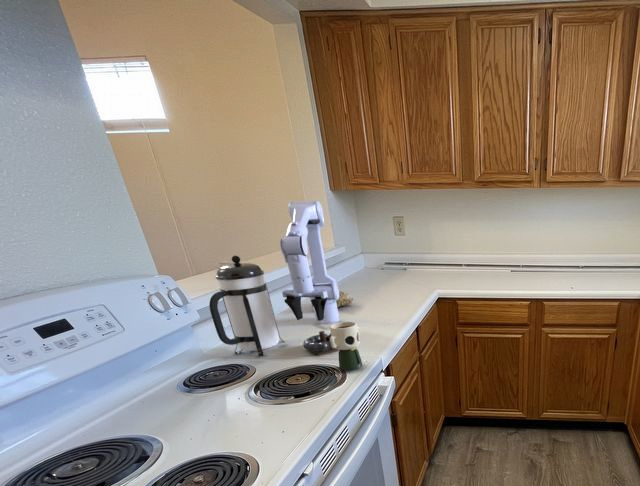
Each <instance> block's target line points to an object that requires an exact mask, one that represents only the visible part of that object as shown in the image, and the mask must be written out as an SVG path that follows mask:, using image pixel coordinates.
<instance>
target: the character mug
mask: <svg viewBox="0 0 640 486" xmlns="http://www.w3.org/2000/svg"><path fill="white" fill-rule="evenodd" d="M329 331H330V333H331V337H330V342H331V346H332V348H335V349H338V350H337V351H338V352H337V353H338V367H339V369H340V370H343V371H346V372H347V371H348V372H349V371H355V370H358V369H359V366H360V368H362V367H363V362H362V358H361V355H360V353H359V350H358V349H357V348H358V347H359V346H360V344H361V339H360V336H361V334H360V327H359V326H358V324H357V322H355V321H347V320H346V321H338V322H336V323H332V324H330V326H329Z"/></svg>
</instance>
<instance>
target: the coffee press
mask: <svg viewBox="0 0 640 486" xmlns="http://www.w3.org/2000/svg"><path fill="white" fill-rule="evenodd" d="M231 261H232V264H225V265H222V266H220V267H219V268H218V269H217V271H216V274H215V280H217V283H218V285H219V291H217V292H215V293H214V294H212V295H211V297H210V299H209V311H210V314H211V317H212V318H211V319H212V322H213V325H214V328H215V331H216V334H217V336H218V338H219V340H220V341H221V342H222V343H223V344H226V345H229V346H234V345H237V346H236V347H235V349H234V354H235V355H240V354H241V353H242V351H246V352H257V355H258V357H259V358H260V357H264V356H265V355H264V351H263V350H267V349H270V348H273V347H275V346H276V345H278V344H279V342H280V341H282V342H283V343H285V340H283V339H282V338H281V335H280V332H279V331H280V330H279V328H278V325H277V320H276V317H275V312H274V309H273V304H272V301H271V296H270V293H269V289H268V286H267V285H268V284H267V282H266V281H265V278H264V276H265V272H264V270H263V269H262V268H261V267H260V266H259V265H258V264H255V263H250V262H242V263H241V258H240V256H238V255H233V256H231ZM221 299H222V301H223V304H224V308H225V310H226V314H227V317H228V321H229V324H230V327H231V330H232V334H233V336H234V338H230V337H228V335H227V334H226V331H225V328H224V325H223V321H222V318H221V314H220V312H219V308H218V306H219V305H218V304H219V301H220V300H221ZM283 347H285V345H284V346H283ZM237 349H240V350H239V352H236V350H237Z"/></svg>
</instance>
